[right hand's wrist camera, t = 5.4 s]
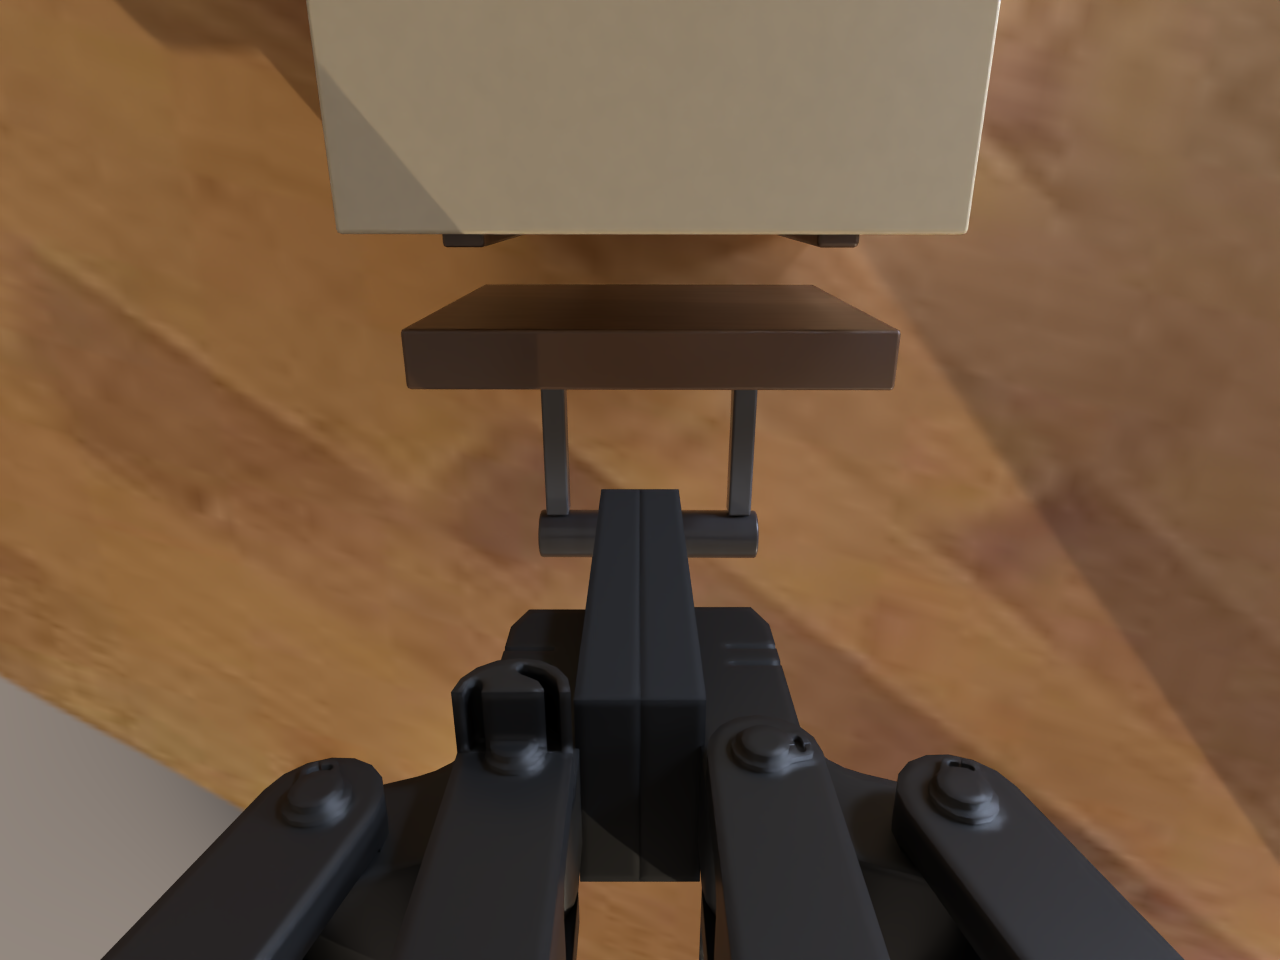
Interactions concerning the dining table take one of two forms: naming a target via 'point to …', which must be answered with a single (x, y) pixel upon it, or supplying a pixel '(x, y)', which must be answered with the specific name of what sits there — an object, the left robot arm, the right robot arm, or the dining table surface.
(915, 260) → the dining table surface
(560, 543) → the drawer
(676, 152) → the beige drawer cabinet
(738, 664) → the right robot arm
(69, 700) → the dining table surface
